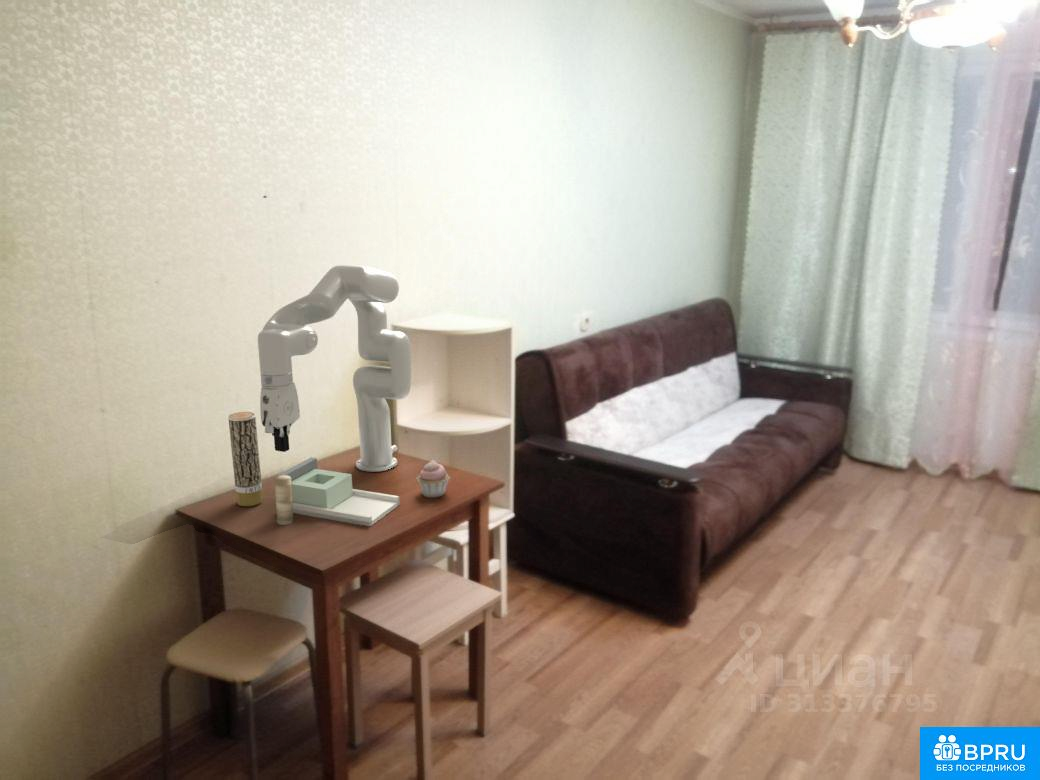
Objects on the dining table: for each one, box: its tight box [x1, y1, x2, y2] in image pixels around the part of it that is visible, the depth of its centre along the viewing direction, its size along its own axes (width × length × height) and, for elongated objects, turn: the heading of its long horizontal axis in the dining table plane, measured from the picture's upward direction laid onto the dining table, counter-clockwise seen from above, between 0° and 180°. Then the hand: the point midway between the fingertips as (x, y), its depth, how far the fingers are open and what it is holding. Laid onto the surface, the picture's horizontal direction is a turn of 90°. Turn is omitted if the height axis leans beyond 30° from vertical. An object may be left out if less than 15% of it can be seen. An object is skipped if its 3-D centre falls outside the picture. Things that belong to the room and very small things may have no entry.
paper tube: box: [227, 411, 264, 507], centre depth 212 cm, size 7×7×25 cm
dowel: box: [274, 475, 294, 526], centre depth 201 cm, size 4×4×12 cm
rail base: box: [276, 457, 400, 527], centre depth 210 cm, size 15×28×10 cm, turn 69°
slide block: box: [291, 468, 353, 509], centre depth 213 cm, size 12×12×6 cm
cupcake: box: [416, 459, 450, 499], centre depth 220 cm, size 9×9×10 cm
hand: (282, 450), depth 198 cm, fingers closed
